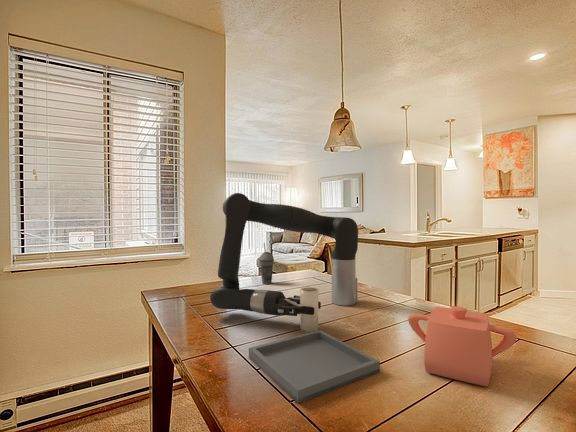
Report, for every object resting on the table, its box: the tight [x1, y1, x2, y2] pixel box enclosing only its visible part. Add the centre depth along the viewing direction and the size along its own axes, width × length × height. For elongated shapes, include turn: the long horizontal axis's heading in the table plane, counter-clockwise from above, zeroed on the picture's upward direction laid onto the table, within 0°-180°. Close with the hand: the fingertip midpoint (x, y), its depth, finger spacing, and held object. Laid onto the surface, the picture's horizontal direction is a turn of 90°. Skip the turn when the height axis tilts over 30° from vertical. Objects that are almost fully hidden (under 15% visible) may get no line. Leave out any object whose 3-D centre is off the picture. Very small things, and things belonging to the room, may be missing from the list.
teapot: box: [407, 305, 518, 387], centre depth 76 cm, size 20×22×14 cm
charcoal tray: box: [248, 329, 381, 405], centre depth 76 cm, size 22×22×2 cm
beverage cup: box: [258, 242, 275, 285], centre depth 158 cm, size 7×7×20 cm
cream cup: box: [299, 286, 319, 333], centre depth 99 cm, size 6×6×12 cm
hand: (317, 308), depth 98 cm, fingers closed on cream cup, 5 cm apart
